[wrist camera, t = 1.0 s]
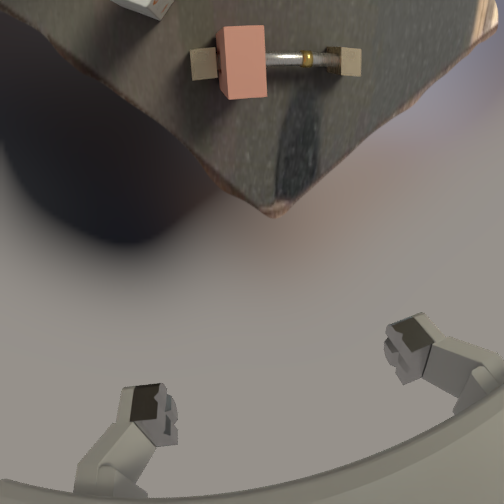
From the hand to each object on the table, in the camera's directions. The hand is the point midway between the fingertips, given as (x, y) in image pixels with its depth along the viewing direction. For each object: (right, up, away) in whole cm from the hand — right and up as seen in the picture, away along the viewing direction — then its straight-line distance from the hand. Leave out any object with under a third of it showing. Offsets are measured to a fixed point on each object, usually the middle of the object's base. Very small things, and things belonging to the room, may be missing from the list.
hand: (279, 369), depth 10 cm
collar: (-4, +30, +25) cm, 39 cm away
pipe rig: (+2, +30, +26) cm, 40 cm away
